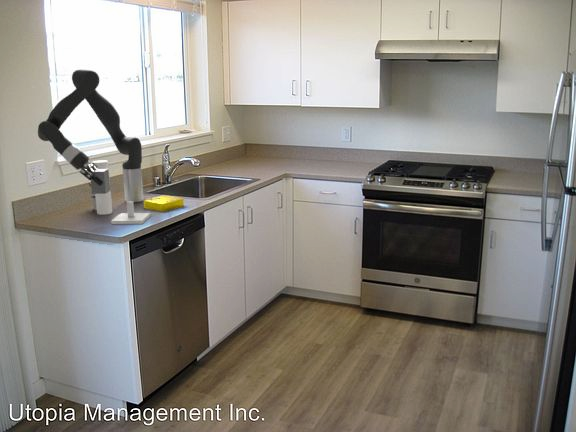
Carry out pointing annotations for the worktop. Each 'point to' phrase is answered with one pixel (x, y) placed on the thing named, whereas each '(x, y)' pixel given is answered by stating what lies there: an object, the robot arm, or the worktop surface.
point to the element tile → (163, 203)
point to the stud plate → (131, 220)
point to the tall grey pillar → (104, 177)
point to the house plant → (92, 199)
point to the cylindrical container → (103, 199)
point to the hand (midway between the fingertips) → (104, 182)
